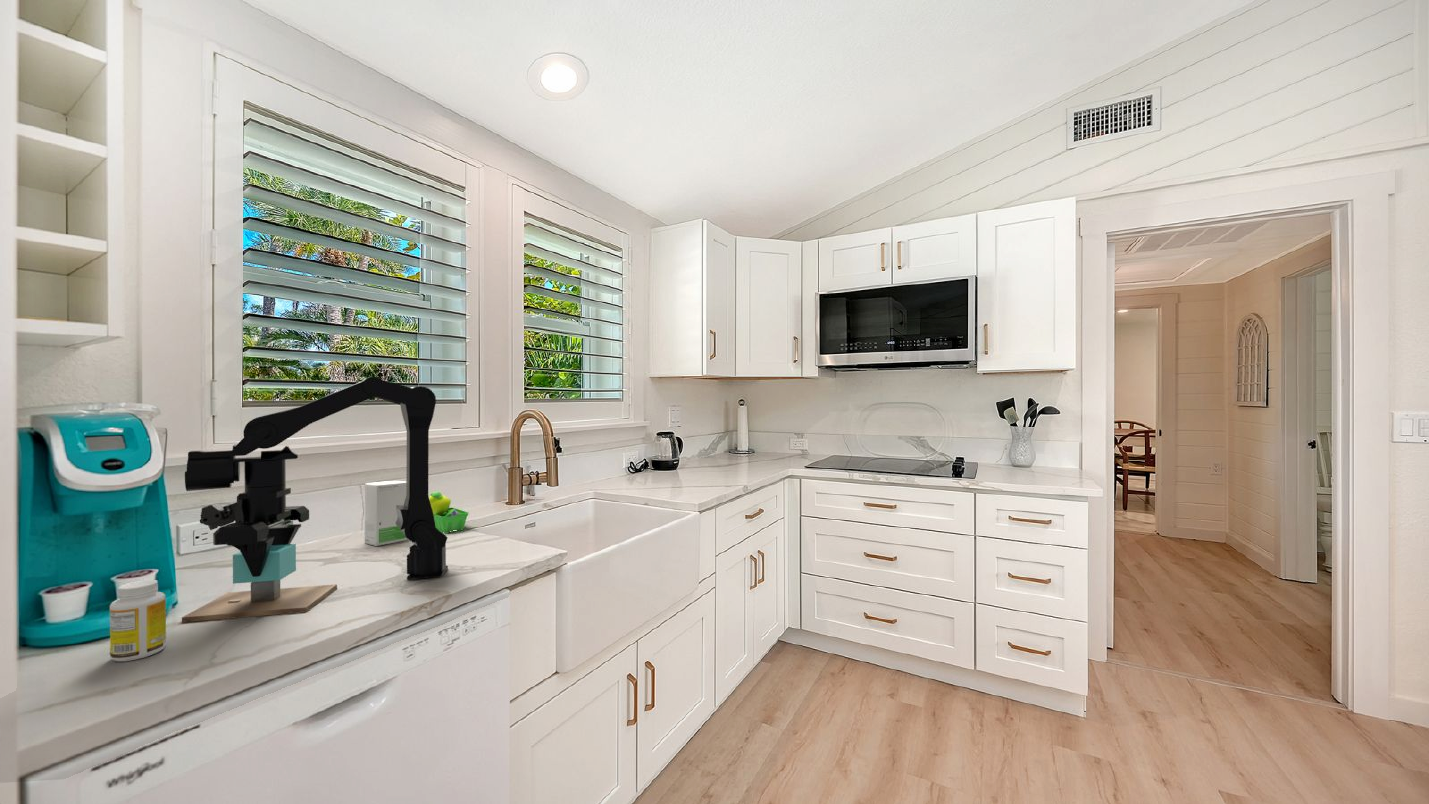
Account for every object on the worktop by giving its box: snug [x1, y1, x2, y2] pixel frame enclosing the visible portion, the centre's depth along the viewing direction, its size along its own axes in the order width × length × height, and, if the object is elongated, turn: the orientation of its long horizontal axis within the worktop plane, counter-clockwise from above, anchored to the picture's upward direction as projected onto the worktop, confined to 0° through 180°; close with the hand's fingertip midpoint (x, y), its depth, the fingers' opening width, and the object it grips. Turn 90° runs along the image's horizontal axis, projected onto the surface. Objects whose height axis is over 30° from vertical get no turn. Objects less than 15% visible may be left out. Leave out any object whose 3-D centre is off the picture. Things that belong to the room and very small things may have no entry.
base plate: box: [181, 584, 338, 623], centre depth 97 cm, size 18×12×1 cm, turn 104°
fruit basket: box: [429, 491, 469, 534], centre depth 153 cm, size 11×9×11 cm
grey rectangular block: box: [250, 580, 281, 602], centre depth 97 cm, size 4×2×4 cm, turn 104°
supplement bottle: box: [109, 579, 167, 662], centre depth 78 cm, size 6×6×10 cm
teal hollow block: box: [232, 543, 297, 585], centre depth 97 cm, size 7×6×6 cm
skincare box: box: [364, 480, 409, 547], centre depth 140 cm, size 8×7×16 cm
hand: (266, 571), depth 97 cm, fingers closed on teal hollow block, 6 cm apart
